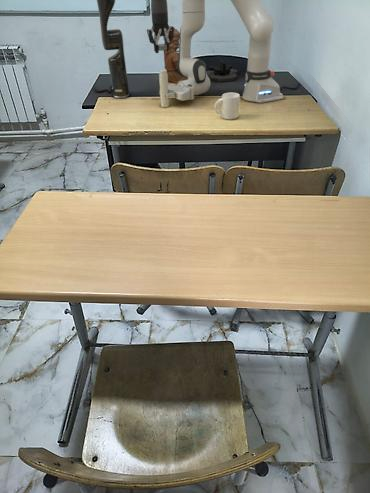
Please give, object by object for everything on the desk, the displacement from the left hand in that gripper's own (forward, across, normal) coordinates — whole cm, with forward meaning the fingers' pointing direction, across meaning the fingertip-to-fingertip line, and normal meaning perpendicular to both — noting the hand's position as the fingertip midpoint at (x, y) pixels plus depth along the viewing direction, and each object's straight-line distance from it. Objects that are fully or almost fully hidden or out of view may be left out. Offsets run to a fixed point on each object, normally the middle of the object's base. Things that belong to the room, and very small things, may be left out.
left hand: (162, 51), depth 175 cm
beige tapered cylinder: (+26, 0, 0) cm, 26 cm away
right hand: (+20, -1, 0) cm, 20 cm away
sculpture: (+26, +27, +32) cm, 50 cm away
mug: (+26, +16, -33) cm, 45 cm away
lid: (-3, 0, 0) cm, 3 cm away
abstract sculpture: (+26, +55, +25) cm, 66 cm away
